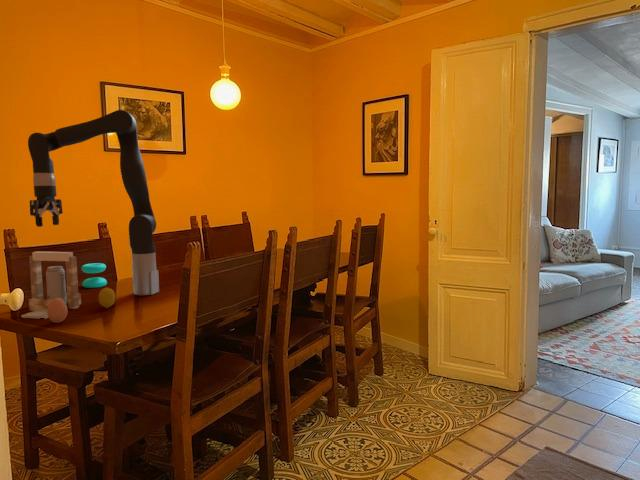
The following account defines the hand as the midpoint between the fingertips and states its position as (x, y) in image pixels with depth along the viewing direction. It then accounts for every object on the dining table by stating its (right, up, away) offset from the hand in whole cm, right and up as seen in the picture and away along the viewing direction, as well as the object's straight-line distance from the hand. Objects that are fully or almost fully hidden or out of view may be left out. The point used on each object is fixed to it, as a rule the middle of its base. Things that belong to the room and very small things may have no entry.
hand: (48, 225), depth 180 cm
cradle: (+11, -31, -13) cm, 35 cm away
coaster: (+12, -32, -23) cm, 41 cm away
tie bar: (+11, -13, -15) cm, 22 cm away
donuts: (+7, -27, +24) cm, 37 cm away
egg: (+23, -33, -33) cm, 52 cm away
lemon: (+31, -31, -15) cm, 46 cm away
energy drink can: (+11, -31, -13) cm, 35 cm away
